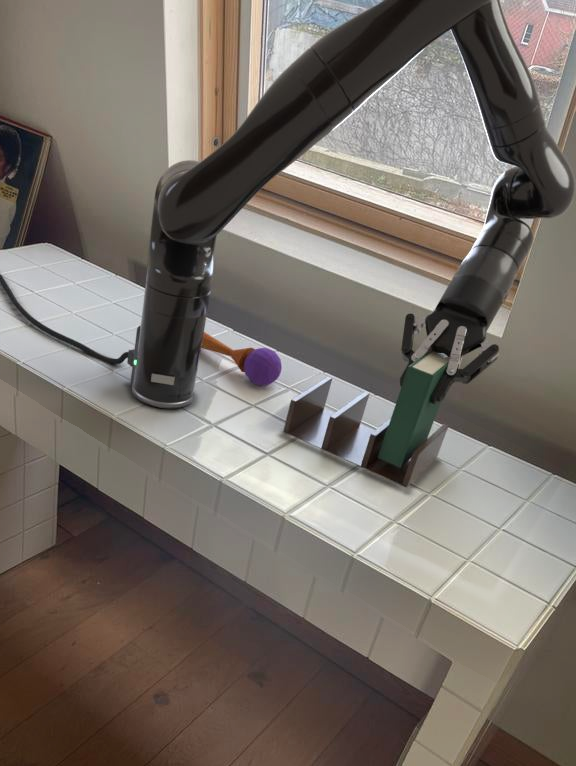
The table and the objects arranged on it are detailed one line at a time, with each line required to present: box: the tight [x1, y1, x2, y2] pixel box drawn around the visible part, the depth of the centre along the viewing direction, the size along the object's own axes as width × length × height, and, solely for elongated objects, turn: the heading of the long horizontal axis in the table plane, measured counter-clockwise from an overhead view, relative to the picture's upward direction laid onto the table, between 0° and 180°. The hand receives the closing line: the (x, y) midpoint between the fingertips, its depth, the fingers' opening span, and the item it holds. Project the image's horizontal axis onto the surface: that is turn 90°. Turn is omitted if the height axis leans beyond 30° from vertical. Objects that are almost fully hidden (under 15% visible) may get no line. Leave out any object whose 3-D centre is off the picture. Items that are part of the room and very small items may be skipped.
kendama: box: [201, 331, 282, 387], centre depth 136 cm, size 6×6×20 cm
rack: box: [283, 376, 449, 488], centre depth 119 cm, size 20×12×6 cm, turn 55°
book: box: [378, 350, 450, 468], centre depth 113 cm, size 4×10×14 cm, turn 145°
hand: (418, 395), depth 110 cm, fingers closed on book, 3 cm apart
